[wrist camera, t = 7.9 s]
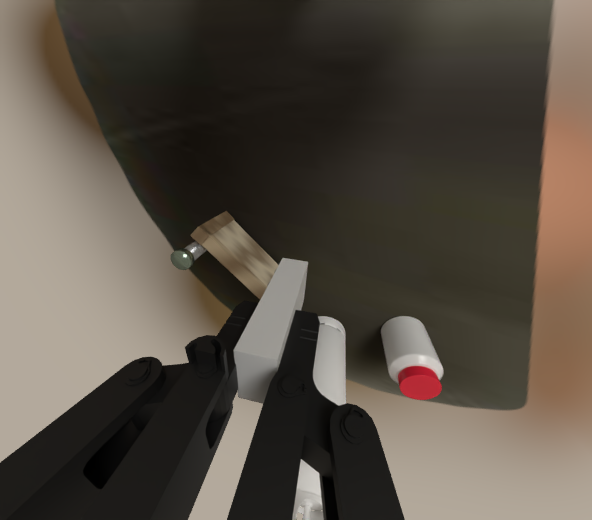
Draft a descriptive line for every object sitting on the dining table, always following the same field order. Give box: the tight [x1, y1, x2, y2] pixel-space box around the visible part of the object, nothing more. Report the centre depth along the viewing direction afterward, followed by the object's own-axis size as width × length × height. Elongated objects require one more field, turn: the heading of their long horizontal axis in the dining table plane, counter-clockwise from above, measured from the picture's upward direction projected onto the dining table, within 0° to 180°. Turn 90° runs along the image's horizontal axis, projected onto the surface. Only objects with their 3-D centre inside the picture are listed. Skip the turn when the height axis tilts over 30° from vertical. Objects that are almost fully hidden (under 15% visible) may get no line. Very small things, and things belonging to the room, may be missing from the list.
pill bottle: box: [381, 316, 443, 400], centre depth 37 cm, size 8×8×11 cm
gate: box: [191, 211, 279, 300], centre depth 35 cm, size 15×2×8 cm, turn 43°
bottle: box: [292, 316, 346, 520], centre depth 33 cm, size 8×8×28 cm
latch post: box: [171, 220, 235, 270], centre depth 33 cm, size 4×4×12 cm
